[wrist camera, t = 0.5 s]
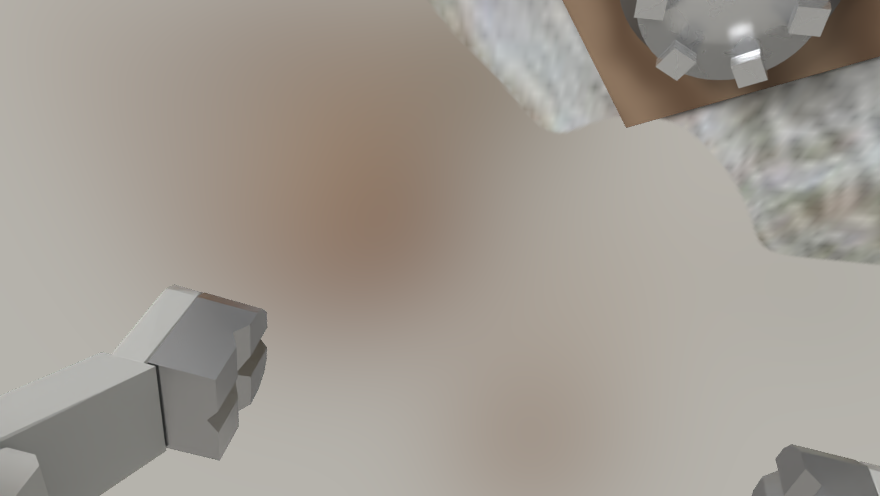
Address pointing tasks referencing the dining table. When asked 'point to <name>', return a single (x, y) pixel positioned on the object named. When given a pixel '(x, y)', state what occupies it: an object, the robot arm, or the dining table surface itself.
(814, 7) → the grey crank handle
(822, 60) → the square wooden board
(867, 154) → the dining table surface
